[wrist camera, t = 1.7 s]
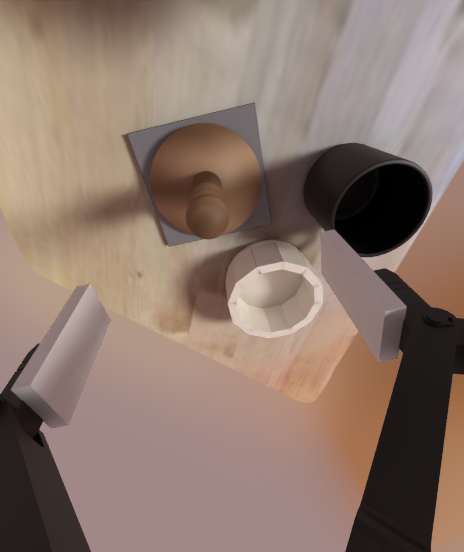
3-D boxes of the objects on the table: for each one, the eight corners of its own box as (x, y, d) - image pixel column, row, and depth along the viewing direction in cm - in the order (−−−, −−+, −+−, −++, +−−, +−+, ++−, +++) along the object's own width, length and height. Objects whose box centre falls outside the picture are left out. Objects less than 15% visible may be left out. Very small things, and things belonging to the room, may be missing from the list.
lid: (134, 138, 29) (98, 163, 19) (250, 110, 28) (275, 121, 19) (171, 242, 36) (159, 301, 26) (266, 221, 35) (291, 273, 25)
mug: (298, 244, 38) (322, 283, 30) (305, 145, 31) (338, 164, 24) (368, 237, 38) (409, 274, 31) (390, 139, 32) (448, 154, 24)
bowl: (217, 250, 37) (219, 275, 32) (305, 230, 37) (321, 253, 32) (235, 315, 44) (239, 344, 39) (309, 299, 43) (323, 327, 38)
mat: (128, 133, 29) (127, 134, 29) (253, 102, 29) (254, 103, 28) (169, 244, 36) (169, 246, 36) (270, 222, 36) (271, 223, 35)
